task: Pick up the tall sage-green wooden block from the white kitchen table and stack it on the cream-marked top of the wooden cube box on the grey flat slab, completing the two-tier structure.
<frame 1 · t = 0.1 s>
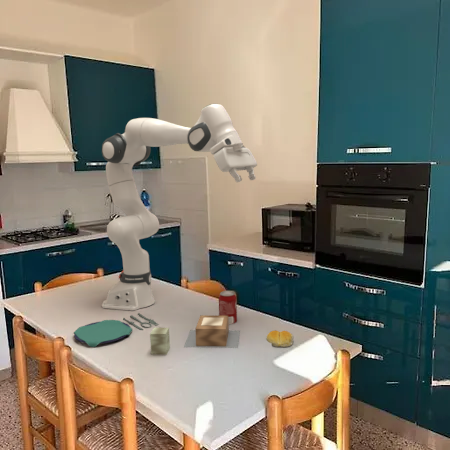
hand: (246, 180, 151), 54 cm above the table, tool tilted 30°, fingers open, 8 cm apart
grey flat slab: (213, 341, 150), on the table
soda can: (228, 323, 165), on the table
sage block: (160, 353, 141), on the table
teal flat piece: (116, 332, 161), on the table
wooden cube box: (213, 338, 149), resting on grey flat slab
bread roll: (280, 343, 148), on the table
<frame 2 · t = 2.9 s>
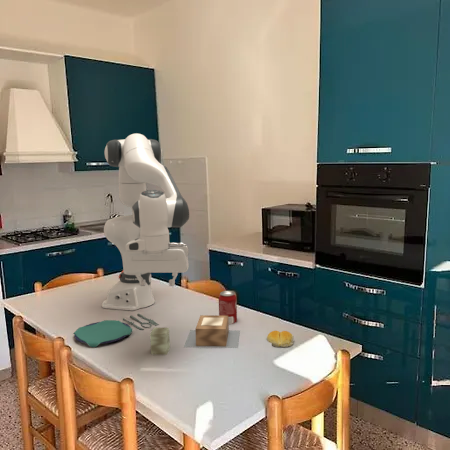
hand: (157, 285, 137), 23 cm above the table, tool pointing down, fingers open, 8 cm apart
nothing on the table moved.
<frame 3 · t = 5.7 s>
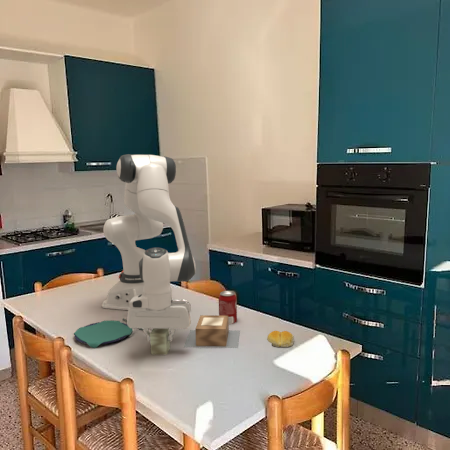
hand: (160, 340, 140), 5 cm above the table, tool pointing down, fingers closed on sage block, 5 cm apart
sage block: (160, 353, 141), on the table, touching gripper
everything else where it was.
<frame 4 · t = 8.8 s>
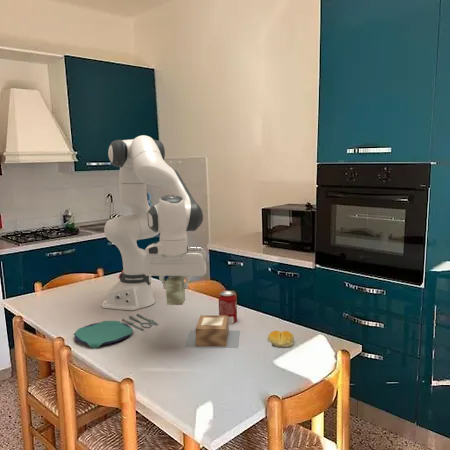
hand: (175, 288, 140), 21 cm above the table, tool pointing down, fingers closed on sage block, 5 cm apart
sage block: (176, 302, 141), point 16 cm above the table, touching gripper
everything else where it was.
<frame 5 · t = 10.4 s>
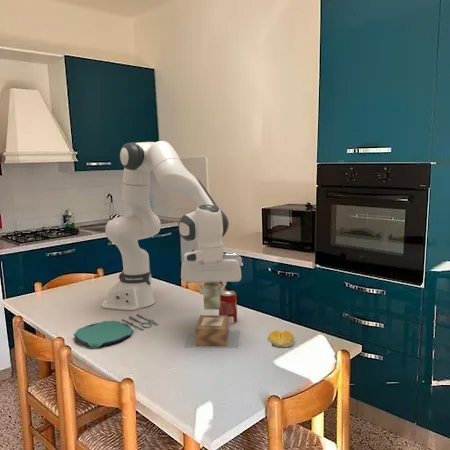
hand: (211, 293, 147), 17 cm above the table, tool pointing down, fingers closed on sage block, 5 cm apart
sage block: (212, 306, 147), point 12 cm above the table, touching gripper
everything else where it was.
when the fingers open (13 cm above the table, at t = 11.8 s): sage block drops 1 cm, resting on wooden cube box.
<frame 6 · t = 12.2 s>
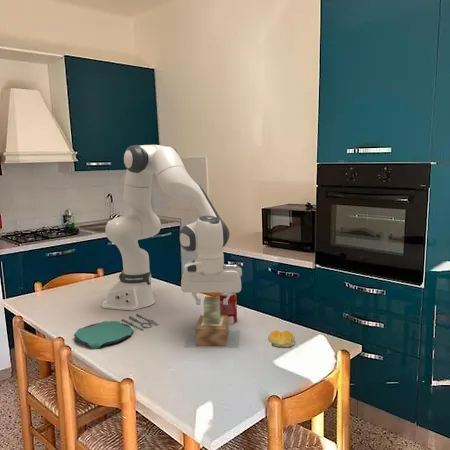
hand: (211, 304, 147), 13 cm above the table, tool pointing down, fingers open, 8 cm apart
sage block: (212, 321, 148), point 7 cm above the table, touching wooden cube box
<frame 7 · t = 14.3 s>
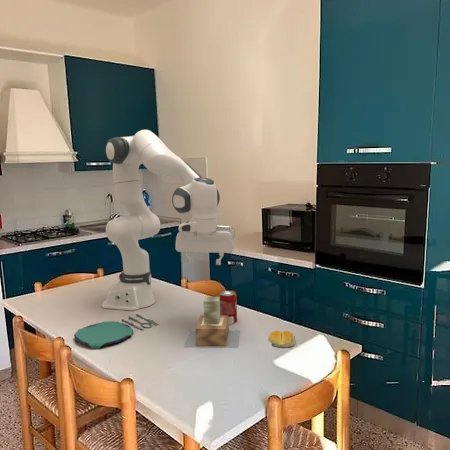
hand: (204, 264, 152), 26 cm above the table, tool pointing down, fingers open, 8 cm apart
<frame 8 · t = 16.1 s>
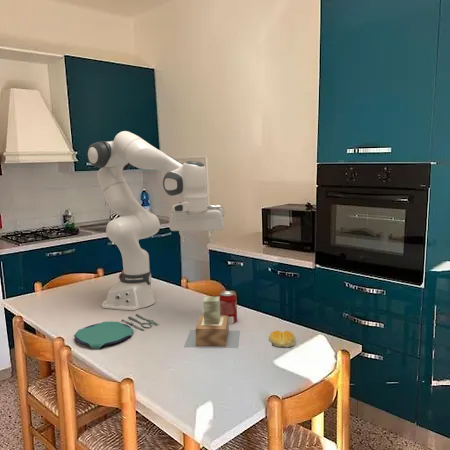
hand: (197, 242, 163), 31 cm above the table, tool pointing down, fingers open, 8 cm apart
at the end: sage block inside the target area on the wooden cube box (0.1 cm from its centre), point 6.2 cm above the wooden cube box's base; sage block tilted 0°; the gripper is holding nothing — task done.
